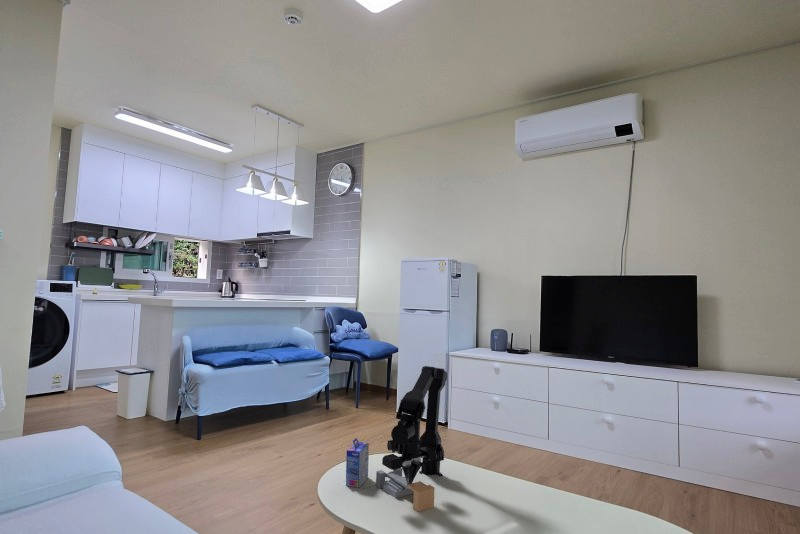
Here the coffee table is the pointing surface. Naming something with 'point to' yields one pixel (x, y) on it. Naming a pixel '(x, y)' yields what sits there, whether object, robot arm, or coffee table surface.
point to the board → (391, 484)
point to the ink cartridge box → (357, 464)
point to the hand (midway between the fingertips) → (409, 484)
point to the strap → (397, 479)
